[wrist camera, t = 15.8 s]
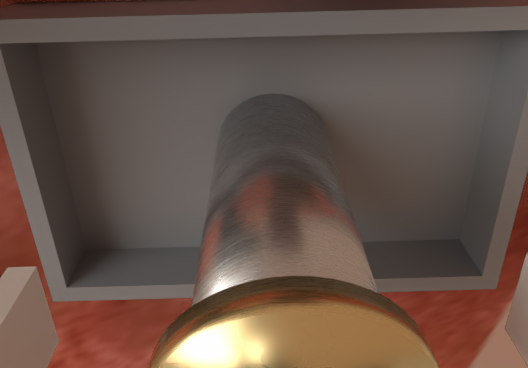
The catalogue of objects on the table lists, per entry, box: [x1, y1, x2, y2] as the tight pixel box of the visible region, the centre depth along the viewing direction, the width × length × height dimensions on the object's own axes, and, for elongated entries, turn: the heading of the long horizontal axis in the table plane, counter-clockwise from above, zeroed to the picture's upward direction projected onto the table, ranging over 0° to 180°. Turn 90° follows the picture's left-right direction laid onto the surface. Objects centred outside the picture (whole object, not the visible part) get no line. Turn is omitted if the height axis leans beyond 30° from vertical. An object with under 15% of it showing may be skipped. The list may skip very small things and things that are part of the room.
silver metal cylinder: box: [148, 94, 439, 368], centre depth 16 cm, size 6×6×14 cm
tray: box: [0, 0, 528, 302], centre depth 22 cm, size 13×21×4 cm, turn 91°
